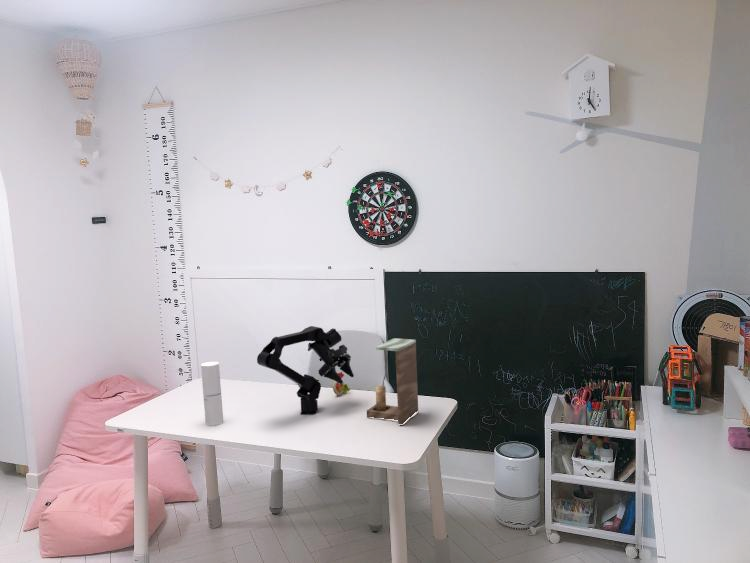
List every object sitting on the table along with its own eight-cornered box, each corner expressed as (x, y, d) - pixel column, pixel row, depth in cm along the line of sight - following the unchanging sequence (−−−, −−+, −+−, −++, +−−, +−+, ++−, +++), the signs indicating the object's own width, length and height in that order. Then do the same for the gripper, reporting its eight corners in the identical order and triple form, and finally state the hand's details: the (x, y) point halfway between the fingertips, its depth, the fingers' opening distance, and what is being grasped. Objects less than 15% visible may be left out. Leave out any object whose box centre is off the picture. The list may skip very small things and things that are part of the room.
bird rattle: (344, 401, 276) (352, 388, 283) (338, 382, 271) (346, 369, 277) (332, 399, 279) (341, 387, 285) (326, 381, 273) (335, 368, 280)
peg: (376, 417, 247) (375, 389, 245) (376, 414, 251) (375, 386, 249) (386, 417, 247) (385, 388, 245) (386, 413, 251) (385, 385, 249)
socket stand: (362, 420, 244) (359, 345, 240) (380, 408, 258) (377, 337, 254) (401, 426, 236) (398, 348, 232) (418, 413, 250) (415, 339, 246)
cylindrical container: (218, 426, 245) (213, 366, 242) (202, 425, 246) (197, 366, 243) (226, 420, 252) (221, 361, 249) (210, 419, 253) (205, 361, 250)
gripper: (323, 345, 247) (347, 373, 243) (346, 335, 263) (369, 362, 259) (308, 362, 252) (332, 390, 248) (331, 351, 268) (354, 378, 264)
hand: (347, 379), depth 255 cm, fingers open, 9 cm apart
